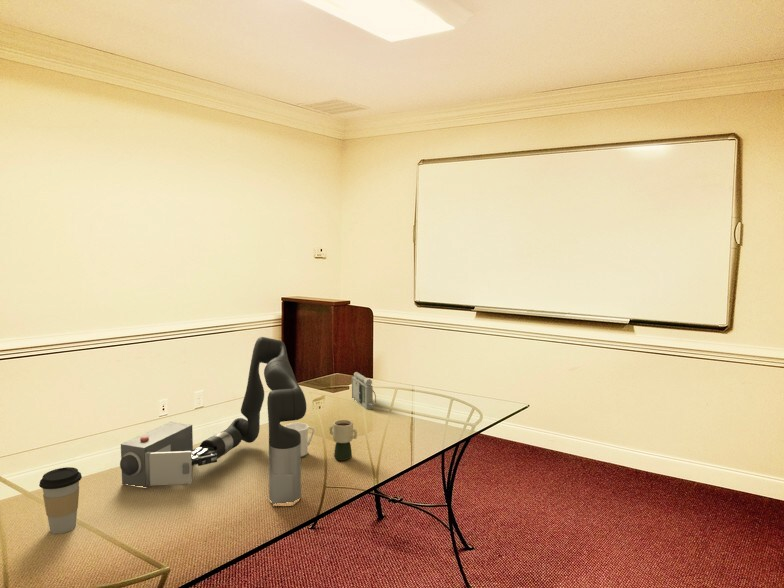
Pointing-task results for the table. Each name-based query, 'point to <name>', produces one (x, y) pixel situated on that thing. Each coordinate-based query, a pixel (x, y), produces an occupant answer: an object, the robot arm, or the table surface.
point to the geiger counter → (362, 391)
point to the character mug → (343, 438)
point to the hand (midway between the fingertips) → (182, 466)
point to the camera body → (152, 449)
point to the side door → (168, 468)
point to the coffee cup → (61, 498)
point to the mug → (302, 435)
